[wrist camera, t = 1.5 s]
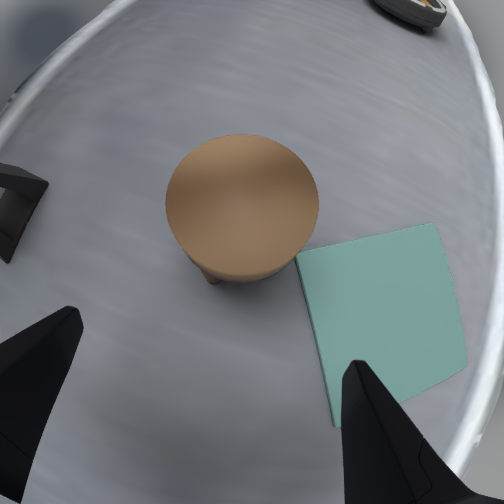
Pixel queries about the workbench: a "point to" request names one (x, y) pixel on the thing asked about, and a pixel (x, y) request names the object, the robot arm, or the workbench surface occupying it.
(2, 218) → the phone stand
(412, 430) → the robot arm
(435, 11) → the motorcycle dashboard
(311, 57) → the workbench surface
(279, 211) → the walnut stool
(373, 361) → the rubber mat
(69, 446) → the workbench surface
